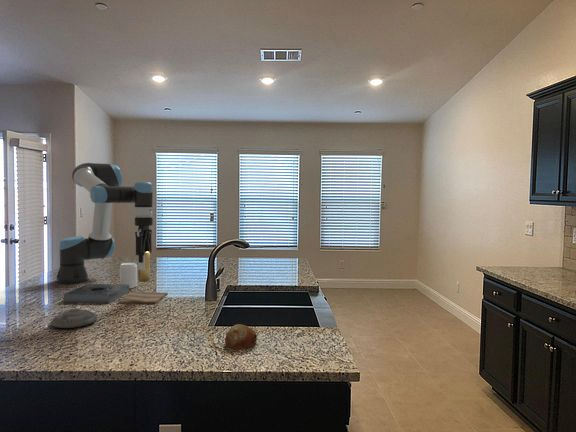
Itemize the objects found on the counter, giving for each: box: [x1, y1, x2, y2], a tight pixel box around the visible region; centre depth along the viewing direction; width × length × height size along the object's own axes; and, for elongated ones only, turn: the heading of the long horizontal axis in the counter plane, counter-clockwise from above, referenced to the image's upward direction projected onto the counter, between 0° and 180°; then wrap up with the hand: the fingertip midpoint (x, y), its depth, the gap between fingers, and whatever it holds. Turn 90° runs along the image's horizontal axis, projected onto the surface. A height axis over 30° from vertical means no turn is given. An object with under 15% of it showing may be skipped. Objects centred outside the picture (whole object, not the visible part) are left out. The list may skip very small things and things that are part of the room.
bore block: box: [62, 283, 130, 304], centre depth 181 cm, size 20×20×4 cm
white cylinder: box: [119, 262, 138, 290], centre depth 199 cm, size 8×8×12 cm
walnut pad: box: [118, 291, 169, 305], centre depth 178 cm, size 16×16×1 cm
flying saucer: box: [50, 308, 98, 329], centre depth 144 cm, size 15×15×6 cm
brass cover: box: [137, 251, 151, 283], centre depth 178 cm, size 5×5×13 cm
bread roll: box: [224, 323, 258, 350], centre depth 127 cm, size 10×10×8 cm
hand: (144, 268), depth 178 cm, fingers closed on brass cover, 5 cm apart
